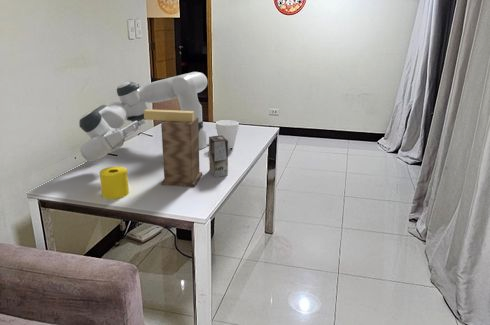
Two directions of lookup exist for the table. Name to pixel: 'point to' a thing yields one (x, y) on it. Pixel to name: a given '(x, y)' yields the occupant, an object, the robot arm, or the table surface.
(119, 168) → the yellow toilet paper roll
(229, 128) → the cup
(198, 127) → the robot arm
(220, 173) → the coffee box
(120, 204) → the table surface
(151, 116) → the bar
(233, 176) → the table surface
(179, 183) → the stand
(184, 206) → the table surface
